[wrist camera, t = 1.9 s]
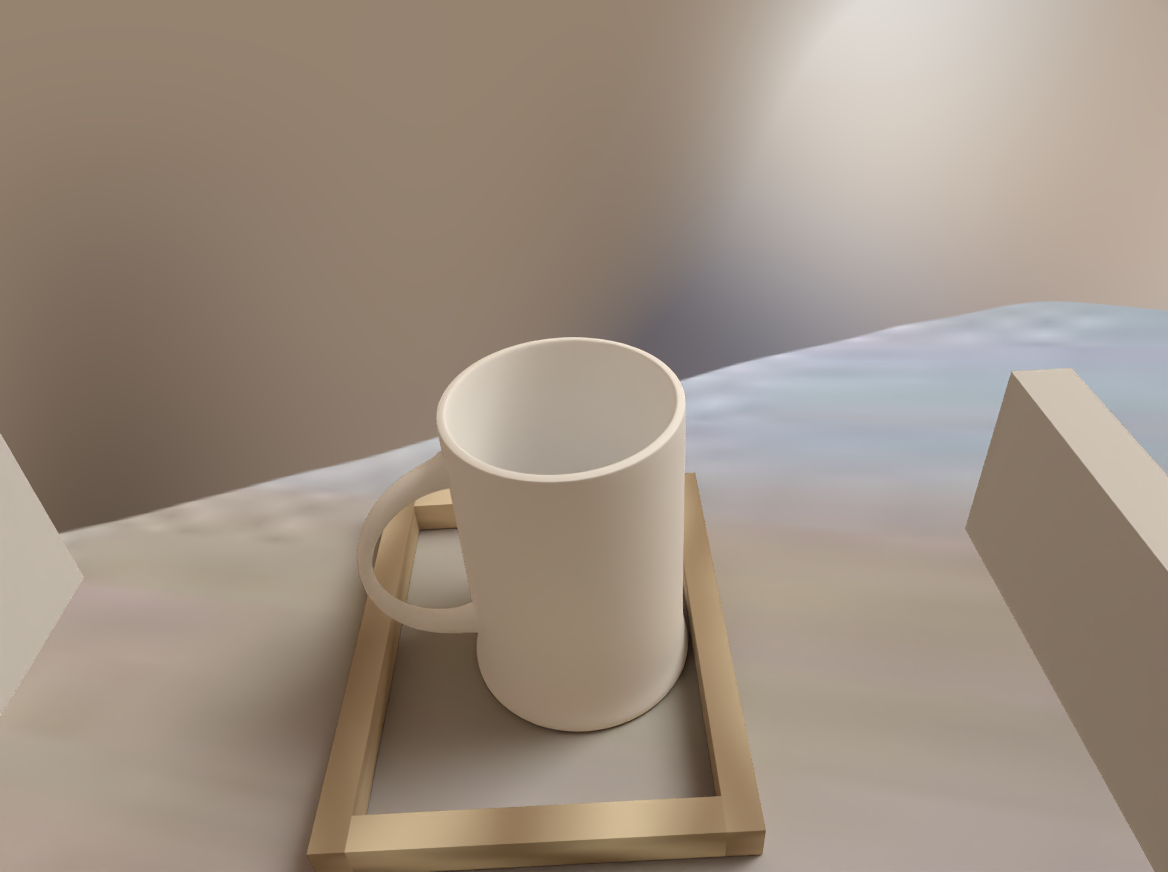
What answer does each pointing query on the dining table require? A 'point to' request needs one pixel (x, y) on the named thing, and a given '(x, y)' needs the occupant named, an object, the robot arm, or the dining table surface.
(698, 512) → the pocket frame
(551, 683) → the mug
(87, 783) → the dining table surface
